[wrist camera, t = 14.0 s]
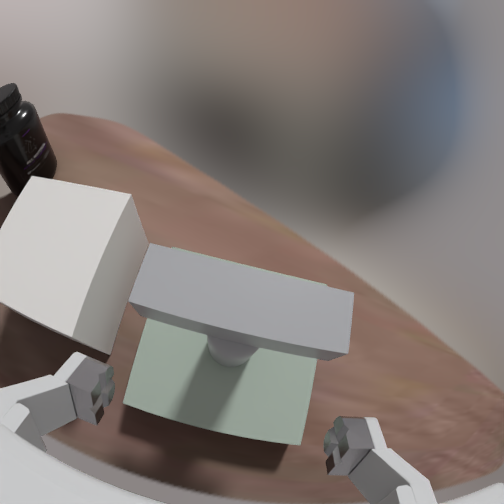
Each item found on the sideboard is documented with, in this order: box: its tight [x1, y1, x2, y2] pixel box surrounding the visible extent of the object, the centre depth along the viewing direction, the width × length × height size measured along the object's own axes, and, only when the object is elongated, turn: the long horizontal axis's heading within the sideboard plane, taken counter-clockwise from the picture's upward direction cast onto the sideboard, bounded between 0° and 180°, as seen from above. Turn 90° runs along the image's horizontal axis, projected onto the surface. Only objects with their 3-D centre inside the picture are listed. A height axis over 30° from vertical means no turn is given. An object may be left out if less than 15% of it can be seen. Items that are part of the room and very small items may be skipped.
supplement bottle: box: [0, 83, 57, 196], centre depth 22 cm, size 7×7×12 cm
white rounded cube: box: [0, 176, 149, 355], centre depth 19 cm, size 10×10×7 cm
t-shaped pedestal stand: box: [123, 243, 354, 445], centre depth 16 cm, size 12×12×13 cm
